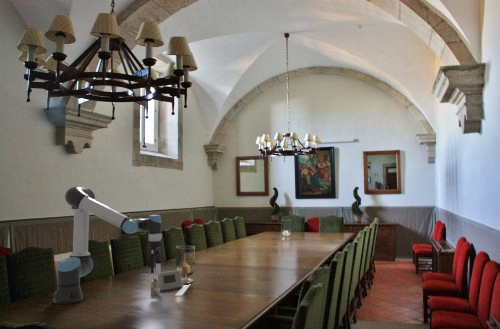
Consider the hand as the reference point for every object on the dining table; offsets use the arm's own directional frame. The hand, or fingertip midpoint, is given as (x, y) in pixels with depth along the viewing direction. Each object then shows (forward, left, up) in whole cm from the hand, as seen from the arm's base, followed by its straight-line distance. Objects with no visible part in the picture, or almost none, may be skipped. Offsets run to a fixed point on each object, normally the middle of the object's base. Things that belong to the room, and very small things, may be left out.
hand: (155, 276), depth 244 cm
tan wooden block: (0, 0, -11) cm, 11 cm away
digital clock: (+5, +15, -11) cm, 20 cm away
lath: (+15, +13, -10) cm, 22 cm away
